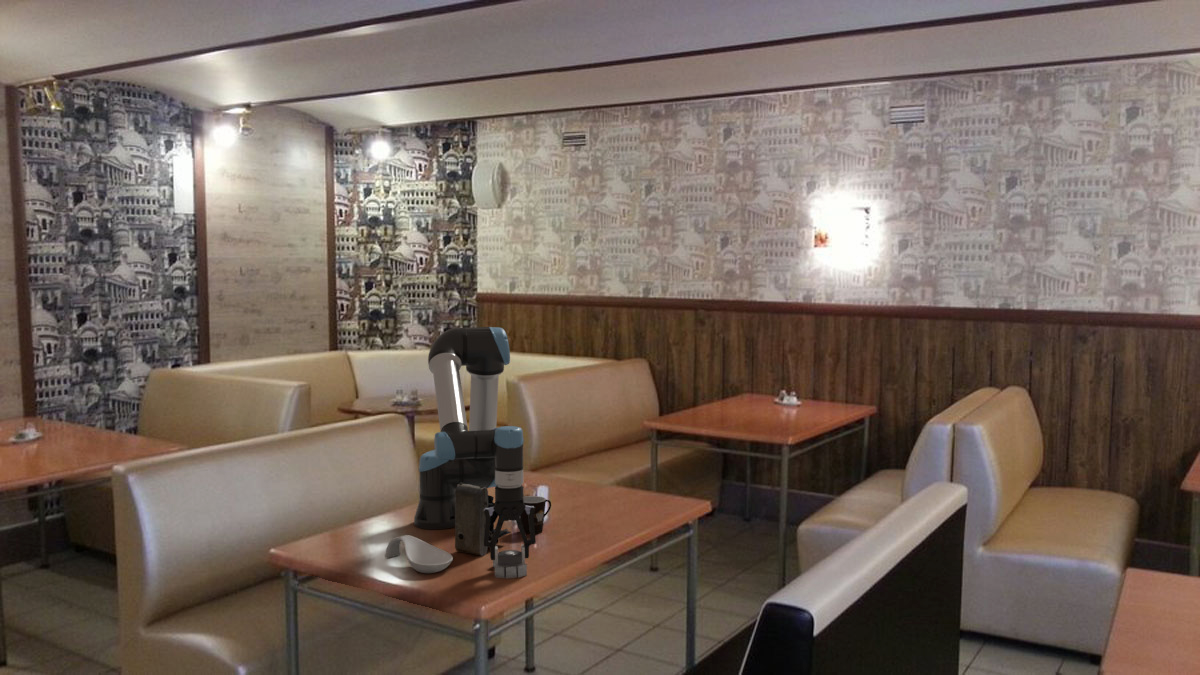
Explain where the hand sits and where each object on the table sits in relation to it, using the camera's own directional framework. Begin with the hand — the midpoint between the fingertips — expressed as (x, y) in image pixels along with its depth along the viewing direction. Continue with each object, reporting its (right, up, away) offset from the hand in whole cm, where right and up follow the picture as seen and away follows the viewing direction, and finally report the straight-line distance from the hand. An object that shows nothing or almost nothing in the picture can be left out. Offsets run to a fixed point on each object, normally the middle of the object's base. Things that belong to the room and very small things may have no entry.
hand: (509, 570), depth 242 cm
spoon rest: (-26, 0, +5) cm, 26 cm away
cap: (0, 0, -1) cm, 1 cm away
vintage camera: (-10, +1, +21) cm, 23 cm away
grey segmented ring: (0, 0, 0) cm, 0 cm away
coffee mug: (+4, +2, +38) cm, 39 cm away
